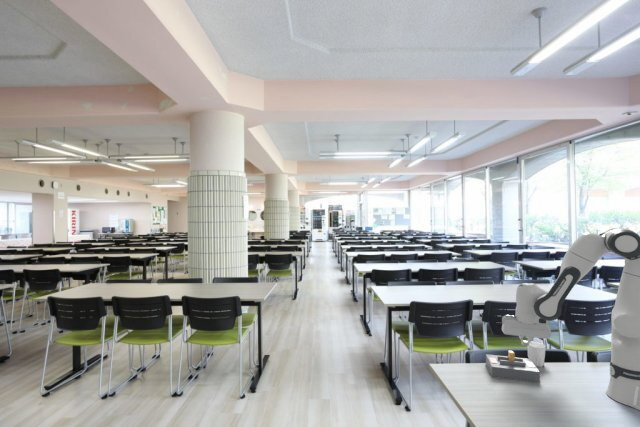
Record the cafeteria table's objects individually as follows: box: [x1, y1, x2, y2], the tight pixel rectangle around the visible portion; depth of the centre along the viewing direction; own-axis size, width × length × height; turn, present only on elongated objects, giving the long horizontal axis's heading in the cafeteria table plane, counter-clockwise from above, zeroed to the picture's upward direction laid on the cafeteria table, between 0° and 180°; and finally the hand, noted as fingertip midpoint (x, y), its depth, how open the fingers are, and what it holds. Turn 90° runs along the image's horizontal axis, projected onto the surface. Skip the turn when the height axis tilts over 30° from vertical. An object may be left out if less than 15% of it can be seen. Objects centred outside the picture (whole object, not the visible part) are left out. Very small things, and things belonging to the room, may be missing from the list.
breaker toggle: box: [507, 349, 516, 361], centre depth 162 cm, size 2×3×5 cm, turn 164°
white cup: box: [526, 341, 546, 367], centre depth 172 cm, size 8×8×10 cm
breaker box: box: [485, 353, 541, 384], centre depth 162 cm, size 20×14×7 cm
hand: (525, 345), depth 161 cm, fingers closed
